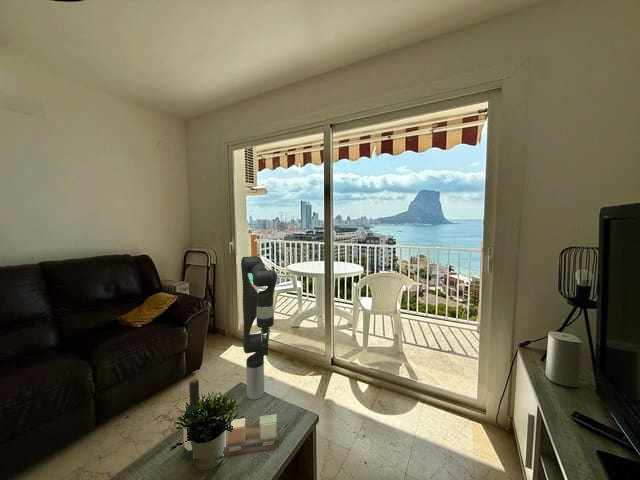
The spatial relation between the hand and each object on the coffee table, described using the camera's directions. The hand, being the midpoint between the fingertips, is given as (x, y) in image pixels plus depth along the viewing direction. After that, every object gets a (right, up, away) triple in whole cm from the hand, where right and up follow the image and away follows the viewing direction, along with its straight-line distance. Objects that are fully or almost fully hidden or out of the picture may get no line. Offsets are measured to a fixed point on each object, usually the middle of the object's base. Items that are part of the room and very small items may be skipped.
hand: (265, 350), depth 112 cm
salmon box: (-10, -35, -8) cm, 37 cm away
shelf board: (-6, -36, -5) cm, 37 cm away
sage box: (+2, -35, -6) cm, 35 cm away
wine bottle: (-26, -37, -10) cm, 46 cm away
